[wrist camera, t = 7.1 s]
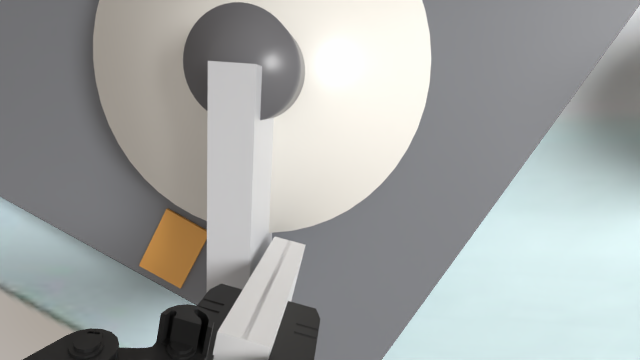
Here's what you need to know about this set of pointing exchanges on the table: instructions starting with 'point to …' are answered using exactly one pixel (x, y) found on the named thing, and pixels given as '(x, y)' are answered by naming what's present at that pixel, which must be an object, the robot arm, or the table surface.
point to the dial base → (343, 230)
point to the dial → (261, 108)
